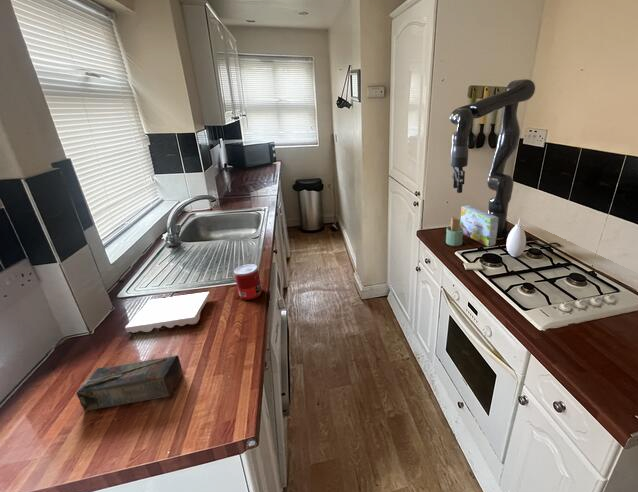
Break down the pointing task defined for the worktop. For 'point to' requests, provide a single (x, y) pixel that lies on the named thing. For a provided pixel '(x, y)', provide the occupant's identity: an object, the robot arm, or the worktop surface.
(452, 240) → the pot
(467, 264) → the board
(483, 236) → the snack box
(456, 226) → the peg
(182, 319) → the food packaging
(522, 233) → the white teardrop shape
